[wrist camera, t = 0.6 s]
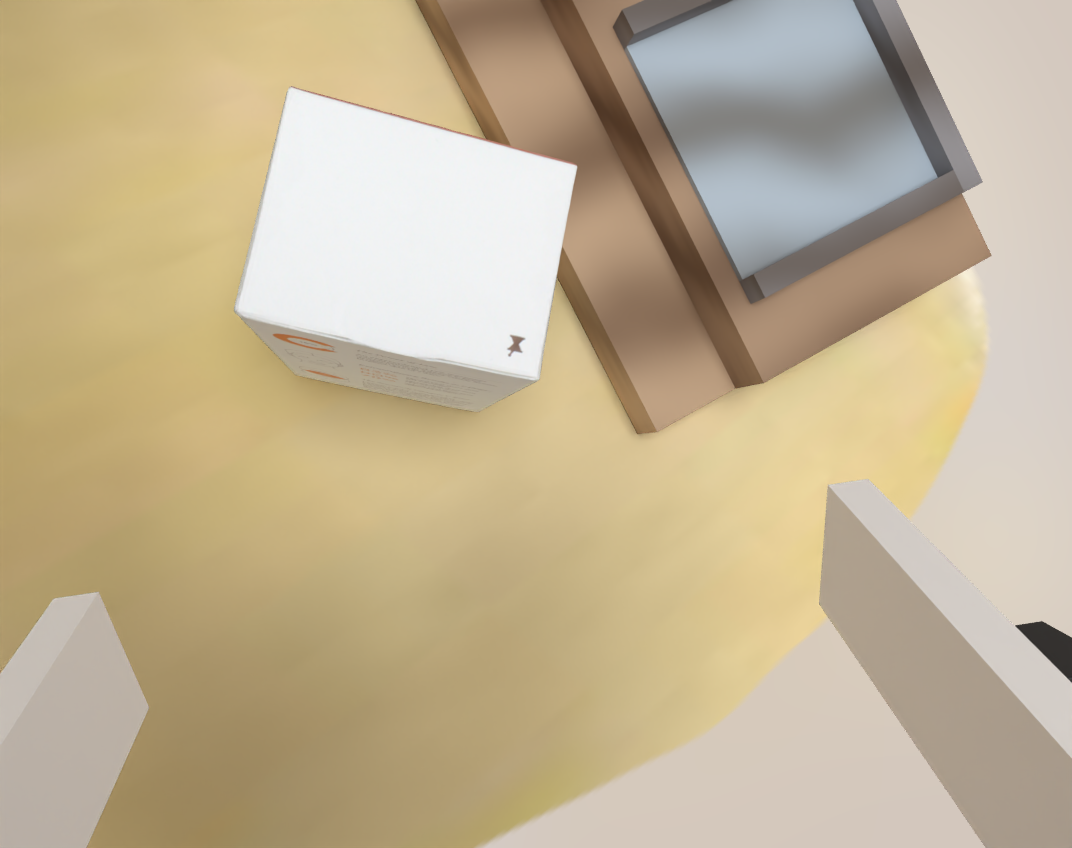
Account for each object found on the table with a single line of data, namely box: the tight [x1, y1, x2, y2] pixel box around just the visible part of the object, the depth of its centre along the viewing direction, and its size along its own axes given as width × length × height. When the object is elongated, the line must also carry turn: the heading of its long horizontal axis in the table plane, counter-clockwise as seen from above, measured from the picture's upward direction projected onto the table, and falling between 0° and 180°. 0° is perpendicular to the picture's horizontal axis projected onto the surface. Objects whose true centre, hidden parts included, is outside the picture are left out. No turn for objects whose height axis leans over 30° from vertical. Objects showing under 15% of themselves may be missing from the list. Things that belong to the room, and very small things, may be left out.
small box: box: [234, 86, 577, 412], centre depth 27 cm, size 8×6×13 cm
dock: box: [416, 0, 991, 434], centre depth 33 cm, size 24×16×6 cm, turn 28°
